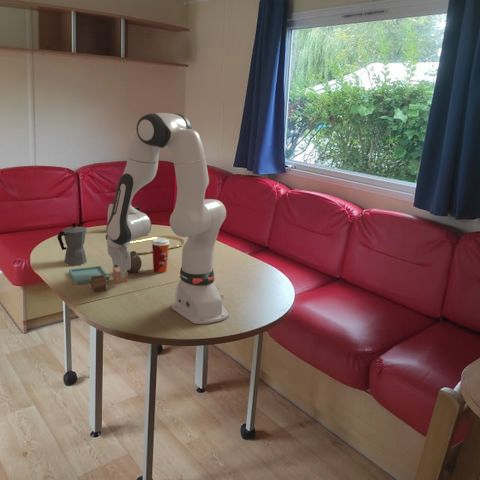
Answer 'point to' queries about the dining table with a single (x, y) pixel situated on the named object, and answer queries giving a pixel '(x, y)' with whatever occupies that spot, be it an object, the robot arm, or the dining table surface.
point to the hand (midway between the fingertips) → (119, 272)
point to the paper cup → (160, 254)
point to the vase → (135, 262)
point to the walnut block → (98, 283)
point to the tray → (87, 274)
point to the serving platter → (158, 237)
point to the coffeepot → (73, 244)
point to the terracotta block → (118, 275)
